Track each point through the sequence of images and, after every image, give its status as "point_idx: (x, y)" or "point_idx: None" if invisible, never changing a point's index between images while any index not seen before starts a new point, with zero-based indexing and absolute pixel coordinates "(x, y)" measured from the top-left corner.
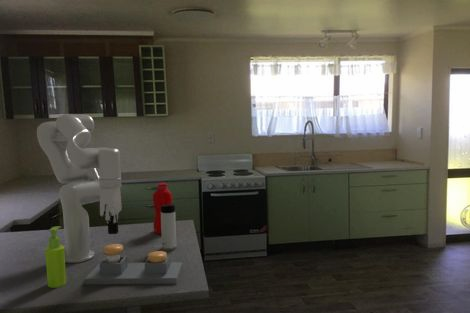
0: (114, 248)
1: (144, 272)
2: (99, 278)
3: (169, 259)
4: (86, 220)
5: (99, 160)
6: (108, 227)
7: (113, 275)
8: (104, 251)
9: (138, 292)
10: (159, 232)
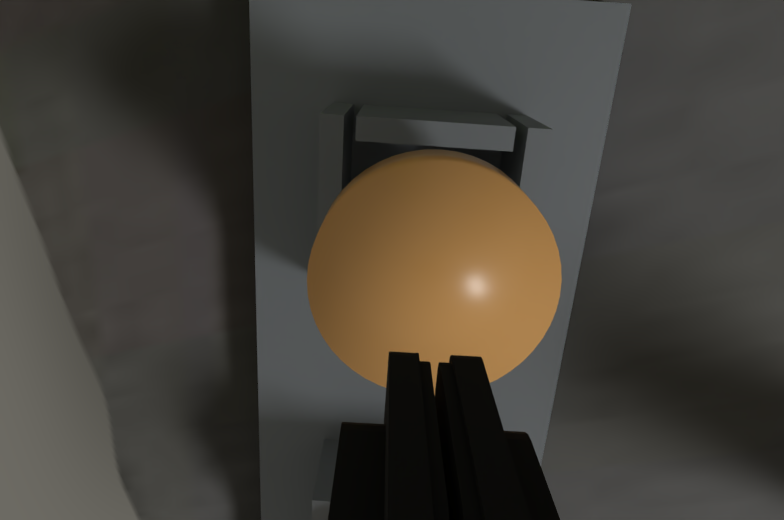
0: (377, 316)
1: None
2: (254, 121)
3: None
4: None
5: None
6: (390, 443)
7: (314, 223)
8: (348, 190)
9: (148, 404)
10: None
